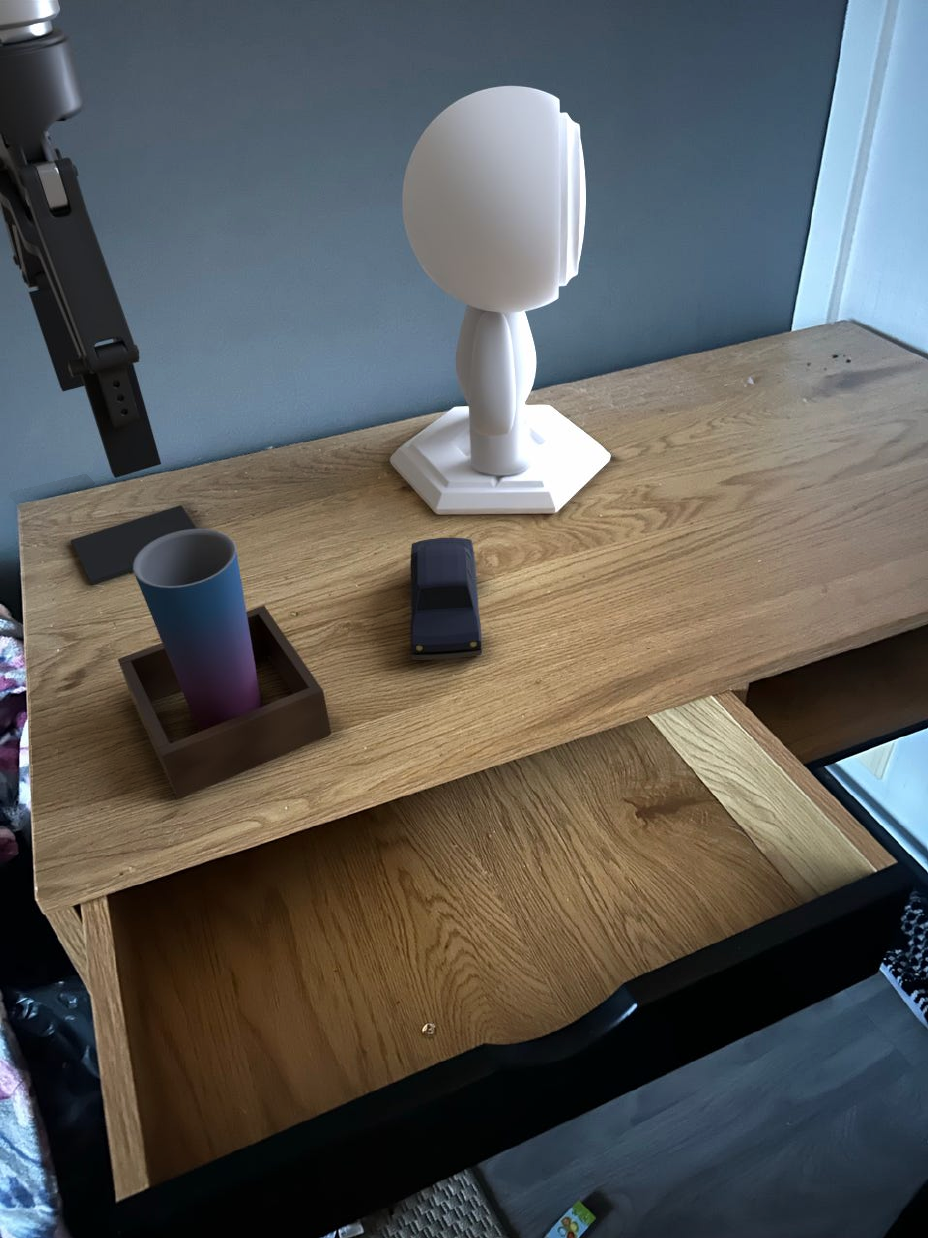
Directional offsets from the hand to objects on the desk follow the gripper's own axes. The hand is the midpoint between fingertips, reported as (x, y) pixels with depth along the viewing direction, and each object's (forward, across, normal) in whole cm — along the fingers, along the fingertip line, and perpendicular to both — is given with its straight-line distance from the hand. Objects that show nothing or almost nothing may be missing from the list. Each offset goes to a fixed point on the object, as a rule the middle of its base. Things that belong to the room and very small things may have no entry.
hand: (107, 423), depth 61 cm
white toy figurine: (+24, +18, -39) cm, 49 cm away
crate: (+24, -3, -2) cm, 24 cm away
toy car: (+24, -1, -22) cm, 33 cm away
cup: (+24, -3, -2) cm, 24 cm away
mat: (+24, +24, -2) cm, 34 cm away
